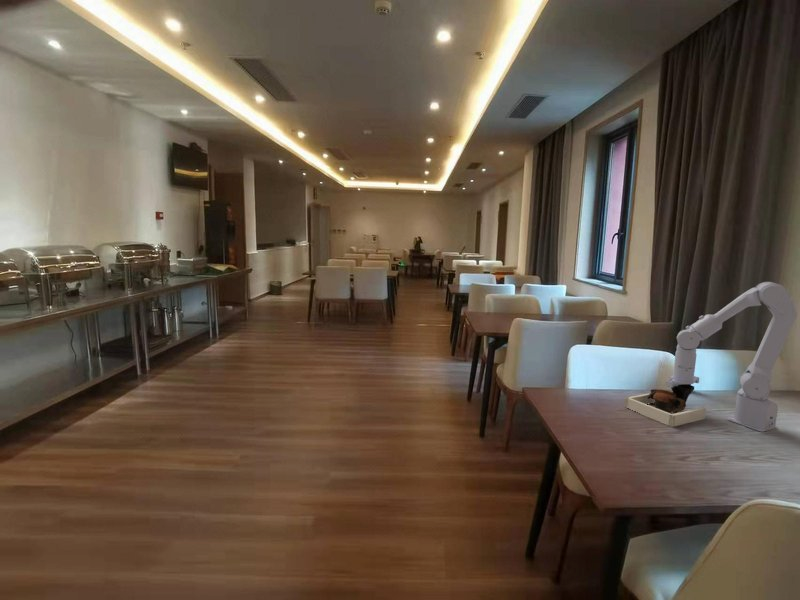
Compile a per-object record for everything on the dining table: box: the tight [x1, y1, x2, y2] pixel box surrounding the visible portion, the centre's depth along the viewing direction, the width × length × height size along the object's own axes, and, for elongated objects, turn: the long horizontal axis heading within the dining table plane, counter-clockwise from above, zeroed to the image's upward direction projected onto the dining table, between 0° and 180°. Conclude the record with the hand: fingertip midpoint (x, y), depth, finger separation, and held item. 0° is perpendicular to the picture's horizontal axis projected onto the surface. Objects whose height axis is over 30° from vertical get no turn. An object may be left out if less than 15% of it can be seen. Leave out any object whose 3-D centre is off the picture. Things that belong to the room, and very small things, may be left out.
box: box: [624, 392, 707, 428], centre depth 136 cm, size 16×16×4 cm
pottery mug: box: [647, 389, 687, 414], centre depth 137 cm, size 12×10×8 cm
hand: (679, 405), depth 139 cm, fingers closed
